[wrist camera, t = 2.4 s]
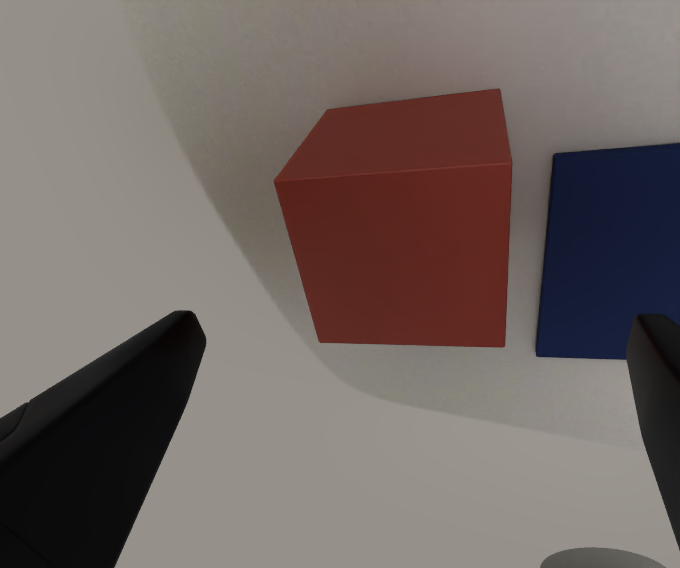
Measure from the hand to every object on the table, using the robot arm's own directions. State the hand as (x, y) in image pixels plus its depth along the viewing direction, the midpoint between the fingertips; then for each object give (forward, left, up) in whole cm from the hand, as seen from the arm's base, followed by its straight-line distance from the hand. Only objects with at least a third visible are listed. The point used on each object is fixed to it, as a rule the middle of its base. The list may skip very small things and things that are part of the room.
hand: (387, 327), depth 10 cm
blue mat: (-3, -8, -7) cm, 11 cm away
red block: (0, 0, -7) cm, 7 cm away
